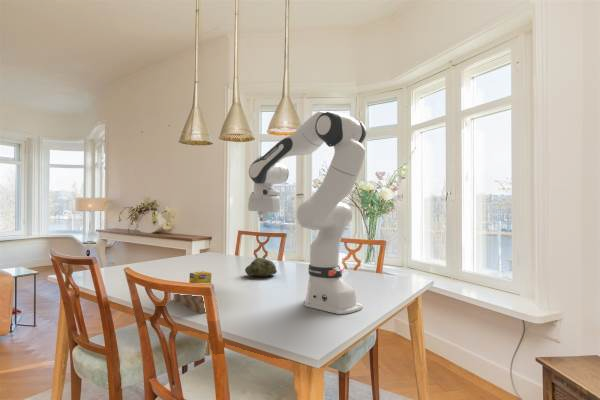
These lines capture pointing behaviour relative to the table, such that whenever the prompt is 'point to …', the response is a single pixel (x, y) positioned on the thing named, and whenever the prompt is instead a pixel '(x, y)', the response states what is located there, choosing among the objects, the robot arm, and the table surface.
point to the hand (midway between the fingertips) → (262, 221)
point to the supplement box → (200, 277)
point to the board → (191, 302)
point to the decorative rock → (261, 268)
